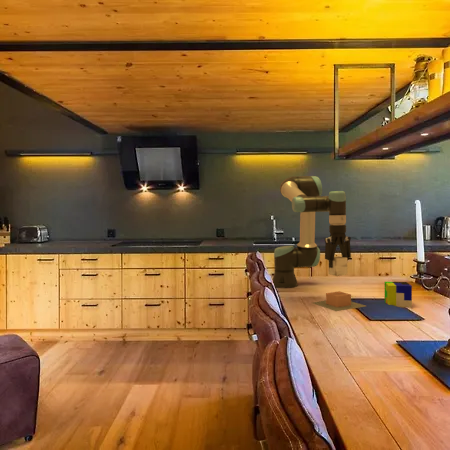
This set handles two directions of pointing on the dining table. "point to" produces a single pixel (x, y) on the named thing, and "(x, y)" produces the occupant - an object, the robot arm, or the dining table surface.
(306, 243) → the robot arm
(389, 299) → the puzzle toy
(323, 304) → the olive square panel
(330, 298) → the base block
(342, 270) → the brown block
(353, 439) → the dining table surface
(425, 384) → the dining table surface
